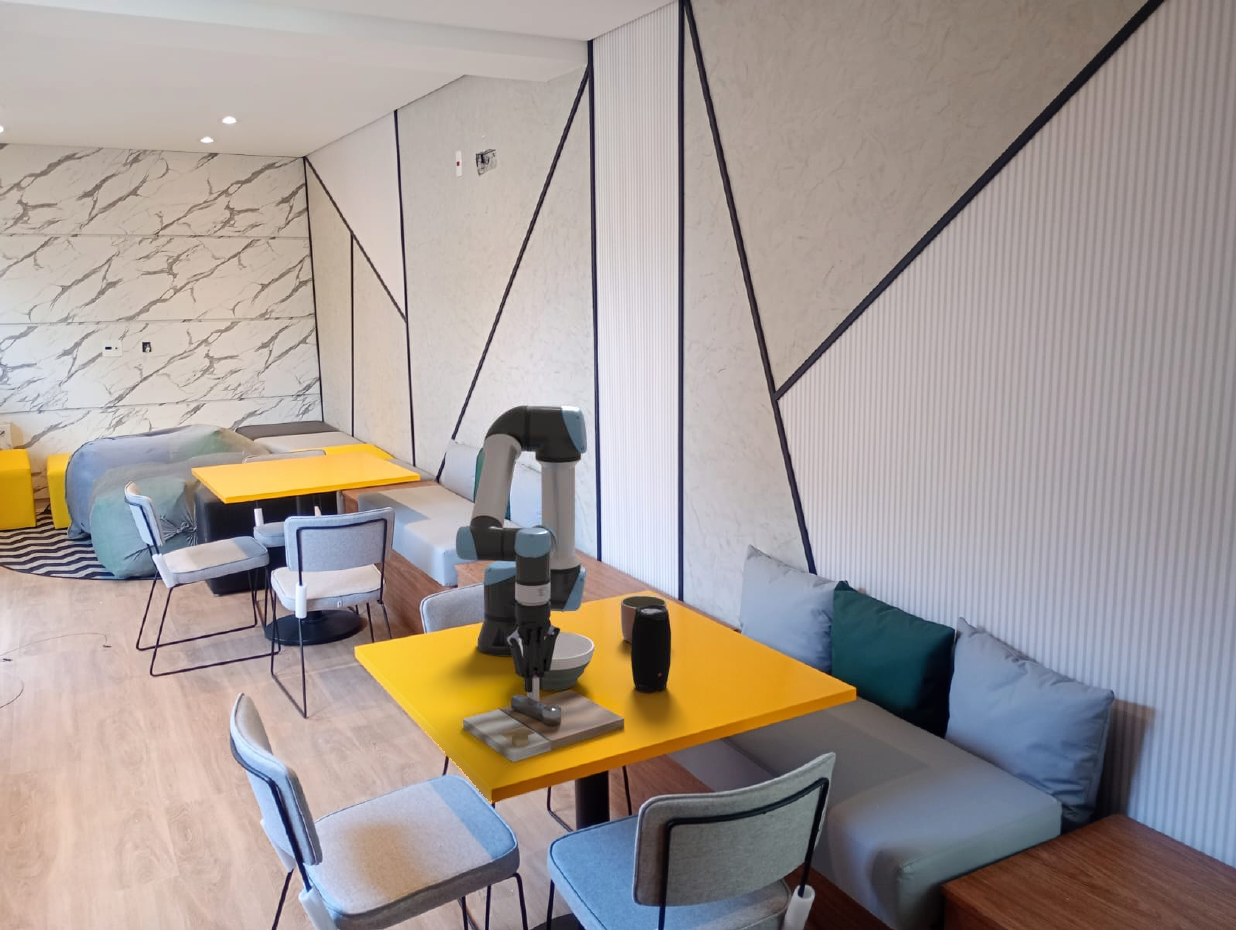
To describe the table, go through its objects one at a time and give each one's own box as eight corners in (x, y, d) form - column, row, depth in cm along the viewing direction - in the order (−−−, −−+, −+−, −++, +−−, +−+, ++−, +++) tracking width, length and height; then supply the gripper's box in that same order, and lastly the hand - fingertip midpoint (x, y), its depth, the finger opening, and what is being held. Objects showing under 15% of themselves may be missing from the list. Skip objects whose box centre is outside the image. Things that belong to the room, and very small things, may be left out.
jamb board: (463, 727, 207) (462, 706, 206) (570, 697, 224) (570, 677, 223) (512, 762, 191) (512, 739, 190) (624, 727, 208) (624, 706, 207)
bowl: (527, 703, 220) (527, 663, 218) (502, 674, 238) (502, 636, 236) (606, 691, 228) (607, 652, 226) (576, 663, 245) (576, 627, 244)
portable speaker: (671, 694, 227) (674, 613, 224) (632, 694, 226) (633, 614, 223) (667, 680, 235) (669, 602, 232) (628, 680, 234) (630, 602, 231)
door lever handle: (565, 721, 205) (565, 708, 204) (551, 727, 202) (551, 714, 201) (521, 703, 214) (521, 691, 213) (508, 709, 211) (508, 696, 210)
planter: (673, 638, 266) (674, 600, 264) (651, 651, 255) (651, 611, 254) (635, 630, 272) (636, 592, 270) (611, 642, 262) (612, 603, 260)
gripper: (516, 610, 201) (517, 717, 204) (567, 599, 209) (567, 703, 212) (497, 601, 206) (498, 706, 210) (548, 591, 214) (548, 692, 218)
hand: (533, 704), depth 211 cm, fingers closed
